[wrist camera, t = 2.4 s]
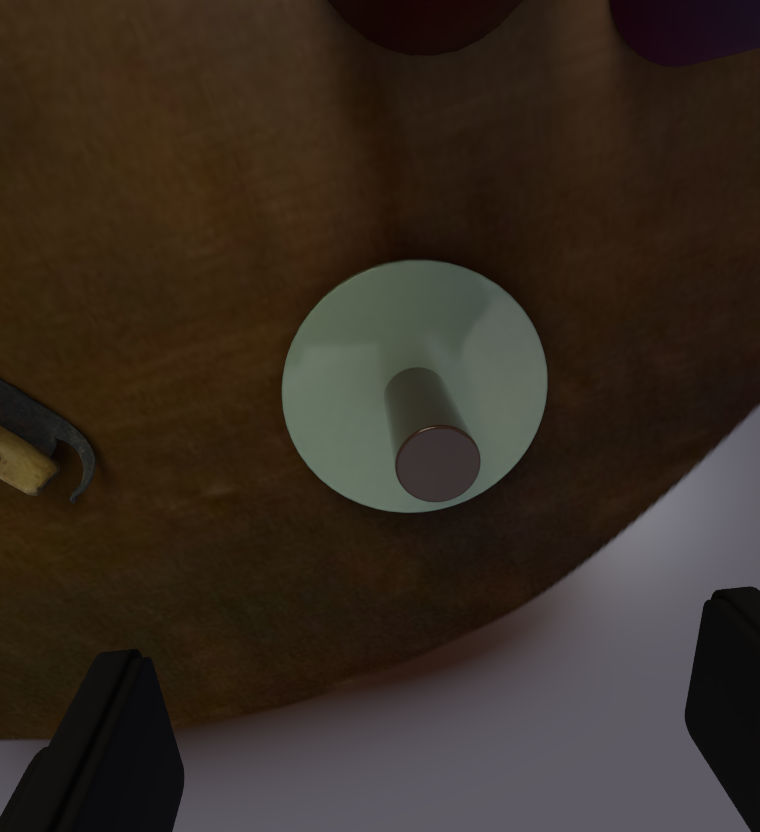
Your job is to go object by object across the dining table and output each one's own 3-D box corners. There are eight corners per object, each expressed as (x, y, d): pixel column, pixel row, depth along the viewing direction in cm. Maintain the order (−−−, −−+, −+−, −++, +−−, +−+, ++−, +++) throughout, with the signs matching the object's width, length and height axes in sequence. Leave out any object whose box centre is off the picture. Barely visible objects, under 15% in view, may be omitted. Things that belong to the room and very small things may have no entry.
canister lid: (586, 327, 21) (684, 383, 15) (461, 529, 24) (500, 646, 18) (350, 206, 19) (352, 214, 13) (246, 444, 22) (207, 542, 16)
